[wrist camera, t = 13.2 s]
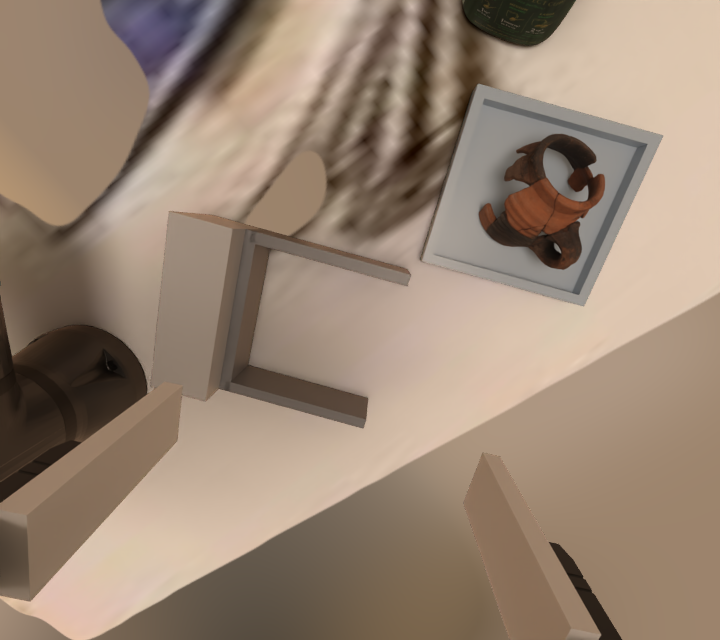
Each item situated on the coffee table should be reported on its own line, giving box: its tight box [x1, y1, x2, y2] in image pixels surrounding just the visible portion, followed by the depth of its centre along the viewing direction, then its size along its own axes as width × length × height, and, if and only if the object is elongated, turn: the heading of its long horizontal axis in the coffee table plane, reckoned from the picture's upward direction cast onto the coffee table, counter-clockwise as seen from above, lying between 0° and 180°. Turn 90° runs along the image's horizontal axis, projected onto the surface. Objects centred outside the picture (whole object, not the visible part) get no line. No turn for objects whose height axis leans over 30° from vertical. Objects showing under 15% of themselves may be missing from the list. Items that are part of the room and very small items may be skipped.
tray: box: [420, 84, 663, 306], centre depth 35 cm, size 18×17×2 cm
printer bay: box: [151, 211, 411, 428], centre depth 37 cm, size 23×18×8 cm
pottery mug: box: [479, 134, 605, 270], centre depth 33 cm, size 12×10×8 cm
